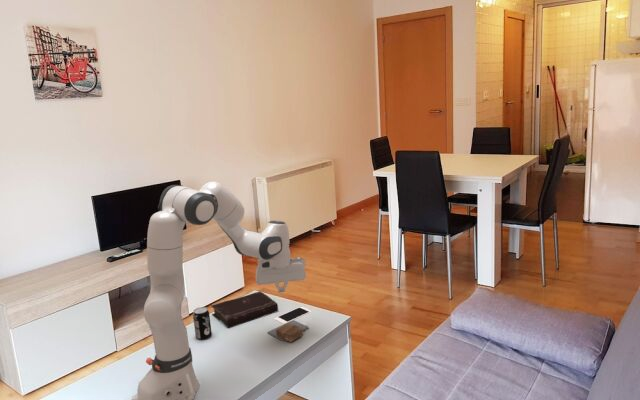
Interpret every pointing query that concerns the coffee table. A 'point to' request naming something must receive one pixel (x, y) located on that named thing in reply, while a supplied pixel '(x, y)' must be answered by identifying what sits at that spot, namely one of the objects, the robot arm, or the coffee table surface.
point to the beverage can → (202, 323)
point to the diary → (244, 309)
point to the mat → (293, 322)
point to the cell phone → (292, 315)
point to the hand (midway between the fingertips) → (281, 291)
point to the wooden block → (289, 332)
